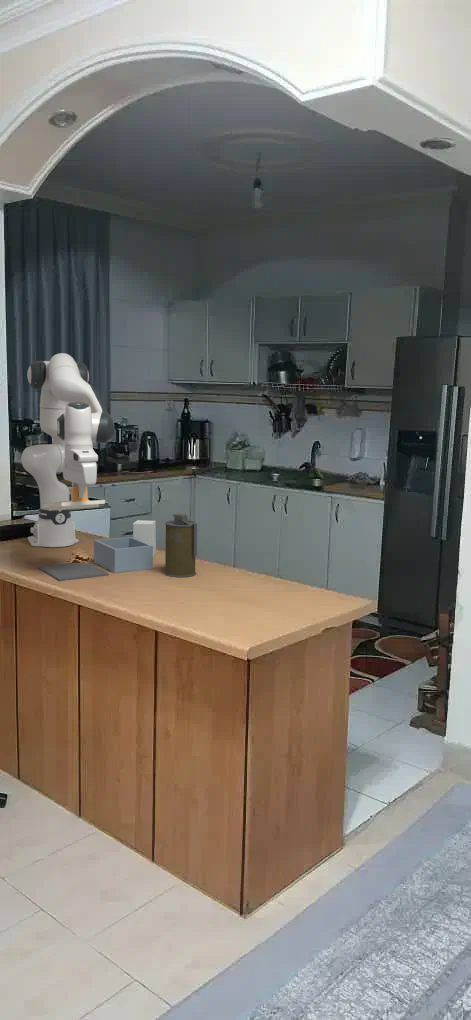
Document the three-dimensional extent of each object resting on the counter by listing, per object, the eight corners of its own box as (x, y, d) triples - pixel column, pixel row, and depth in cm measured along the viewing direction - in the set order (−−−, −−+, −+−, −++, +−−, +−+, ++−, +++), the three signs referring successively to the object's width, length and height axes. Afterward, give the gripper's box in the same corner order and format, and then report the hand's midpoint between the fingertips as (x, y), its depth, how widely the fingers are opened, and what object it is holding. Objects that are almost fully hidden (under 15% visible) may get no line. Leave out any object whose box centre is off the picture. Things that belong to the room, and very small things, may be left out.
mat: (38, 568, 268) (38, 566, 268) (86, 563, 277) (86, 561, 277) (59, 580, 251) (58, 579, 251) (108, 575, 260) (108, 573, 260)
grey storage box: (94, 562, 278) (94, 540, 277) (130, 558, 286) (130, 536, 284) (114, 573, 263) (114, 549, 262) (152, 568, 271) (152, 545, 269)
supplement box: (156, 553, 295) (156, 520, 293) (152, 557, 288) (152, 523, 286) (136, 552, 296) (137, 519, 294) (132, 557, 289) (132, 522, 287)
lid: (42, 511, 264) (41, 491, 264) (84, 508, 272) (82, 488, 272) (61, 509, 248) (60, 488, 248) (105, 506, 256) (103, 485, 256)
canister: (158, 574, 262) (159, 515, 259) (175, 568, 271) (175, 511, 268) (186, 579, 257) (187, 518, 254) (202, 572, 266) (203, 514, 263)
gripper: (58, 451, 260) (58, 493, 262) (81, 456, 243) (81, 501, 245) (76, 451, 263) (76, 492, 265) (100, 456, 246) (100, 500, 248)
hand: (79, 496), depth 255 cm, fingers closed on lid, 2 cm apart
